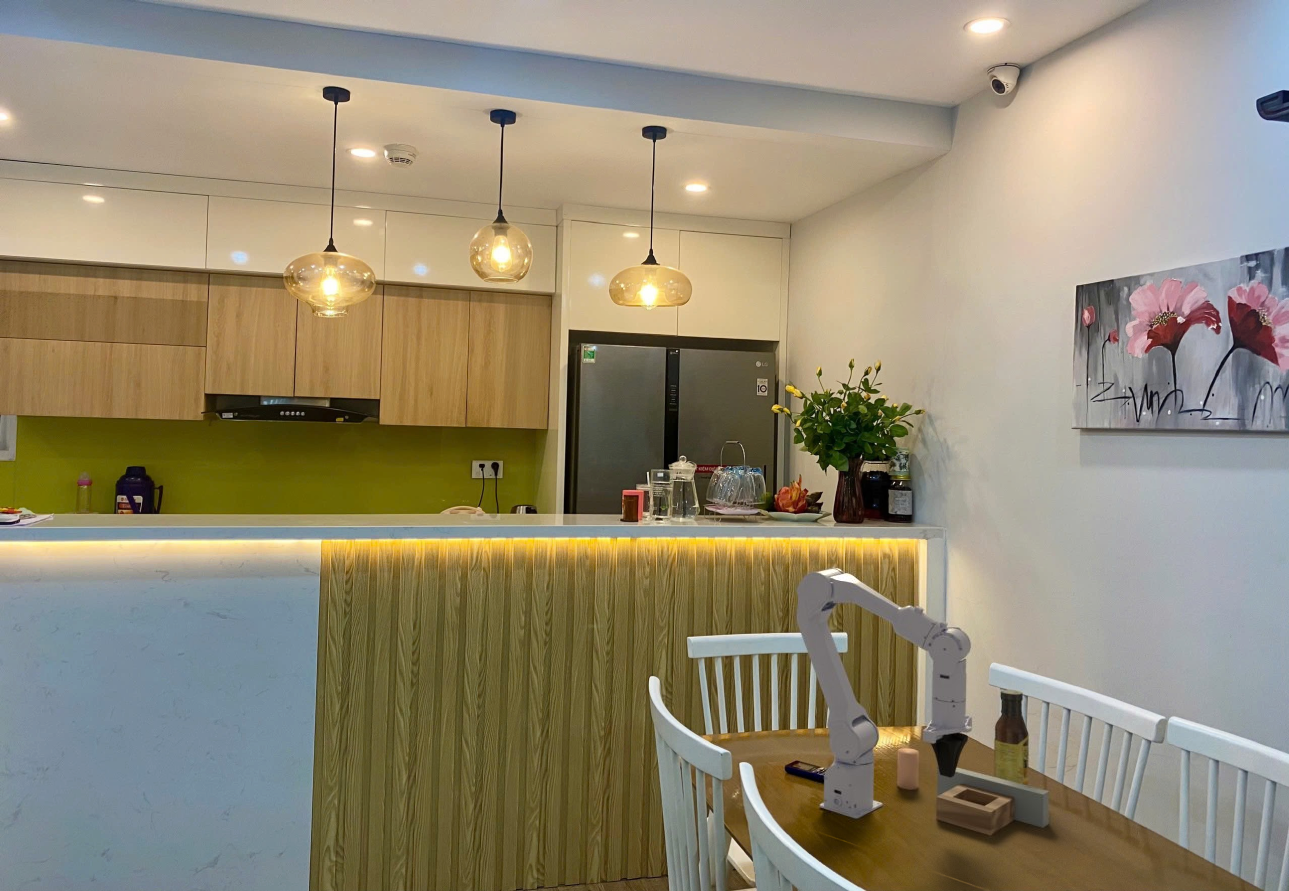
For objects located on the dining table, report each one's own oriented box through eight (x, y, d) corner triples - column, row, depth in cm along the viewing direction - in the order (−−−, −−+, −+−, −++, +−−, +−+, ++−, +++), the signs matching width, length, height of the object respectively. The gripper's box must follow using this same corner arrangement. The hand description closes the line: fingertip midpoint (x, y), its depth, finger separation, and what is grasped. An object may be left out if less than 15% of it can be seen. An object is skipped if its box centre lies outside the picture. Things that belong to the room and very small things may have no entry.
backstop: (1042, 828, 167) (1043, 794, 168) (936, 798, 181) (937, 766, 181) (1048, 824, 169) (1048, 790, 169) (943, 794, 183) (943, 763, 183)
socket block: (990, 835, 163) (990, 812, 163) (936, 818, 170) (936, 796, 170) (1014, 819, 171) (1014, 797, 171) (961, 804, 178) (961, 783, 178)
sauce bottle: (1031, 801, 180) (1032, 697, 180) (996, 798, 182) (998, 695, 182) (1024, 789, 187) (1026, 689, 187) (991, 787, 188) (992, 686, 188)
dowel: (912, 791, 184) (912, 755, 185) (893, 786, 187) (894, 751, 187) (921, 786, 187) (922, 751, 187) (903, 781, 190) (904, 746, 190)
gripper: (950, 710, 159) (949, 791, 159) (988, 695, 169) (987, 771, 169) (912, 701, 164) (910, 780, 164) (951, 687, 174) (949, 761, 174)
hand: (947, 775), depth 167 cm, fingers closed
